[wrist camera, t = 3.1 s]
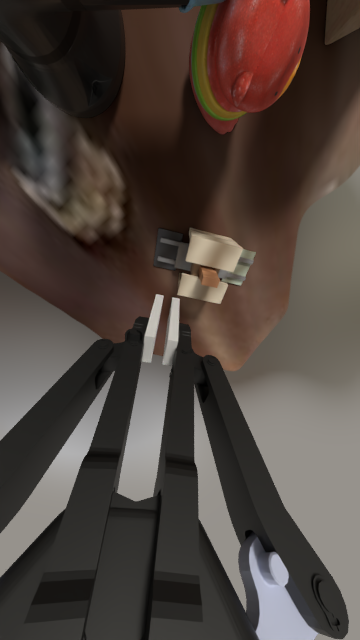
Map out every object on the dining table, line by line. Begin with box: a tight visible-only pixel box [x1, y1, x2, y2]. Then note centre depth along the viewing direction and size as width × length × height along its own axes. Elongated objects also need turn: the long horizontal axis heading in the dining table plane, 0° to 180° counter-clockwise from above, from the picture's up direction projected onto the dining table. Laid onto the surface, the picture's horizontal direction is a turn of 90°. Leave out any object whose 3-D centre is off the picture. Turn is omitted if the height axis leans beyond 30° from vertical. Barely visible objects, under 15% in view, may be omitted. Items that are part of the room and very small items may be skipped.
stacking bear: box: [189, 0, 310, 135], centre depth 18 cm, size 11×10×18 cm
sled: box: [174, 242, 229, 288], centre depth 33 cm, size 12×5×12 cm, turn 77°
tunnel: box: [154, 228, 256, 304], centre depth 36 cm, size 22×11×9 cm, turn 77°
